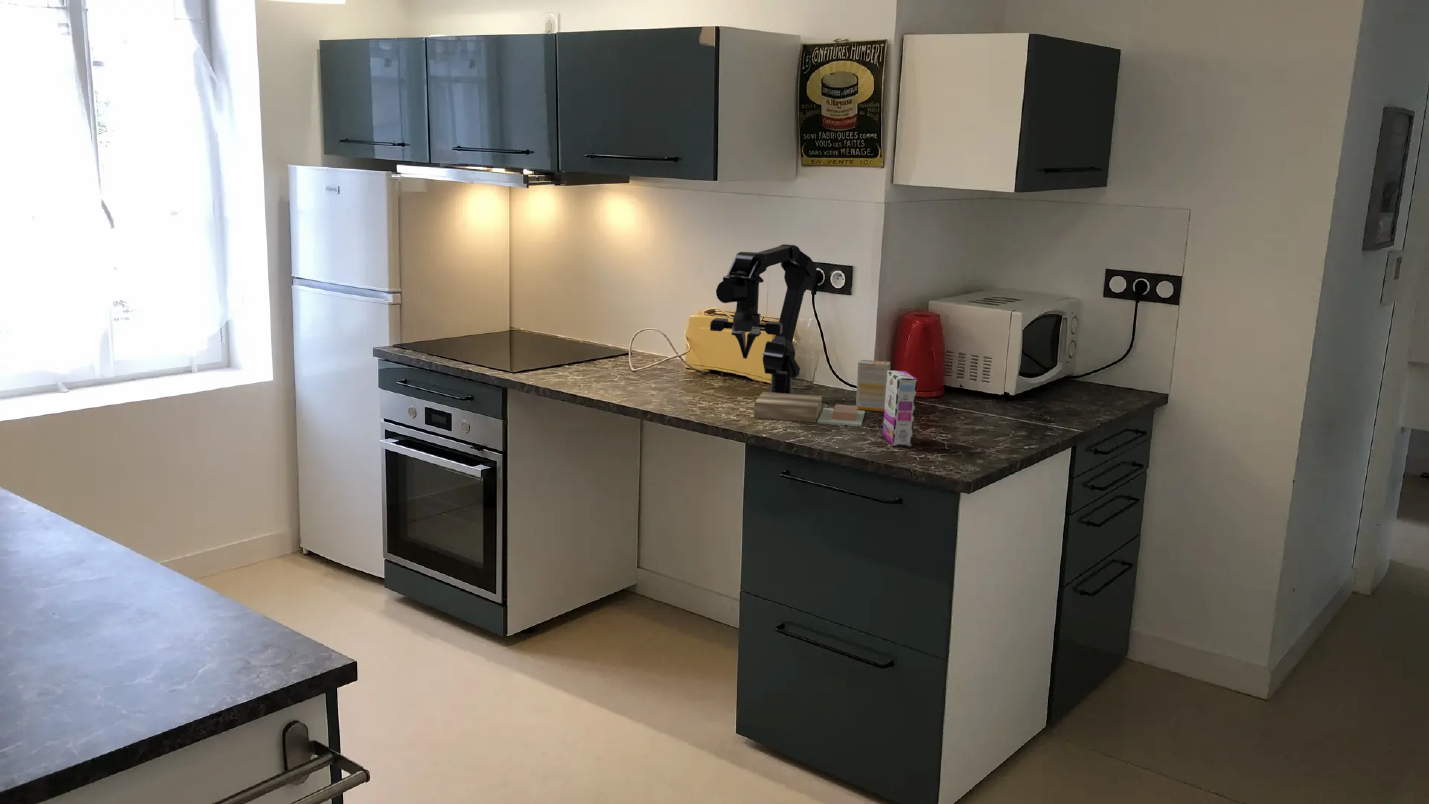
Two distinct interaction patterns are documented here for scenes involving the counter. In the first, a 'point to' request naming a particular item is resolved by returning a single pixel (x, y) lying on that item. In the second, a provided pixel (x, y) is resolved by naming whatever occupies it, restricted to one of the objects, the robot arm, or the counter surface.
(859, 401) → the supplement box
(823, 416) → the mat
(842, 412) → the tile
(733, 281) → the robot arm
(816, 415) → the board
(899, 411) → the candy bar box
